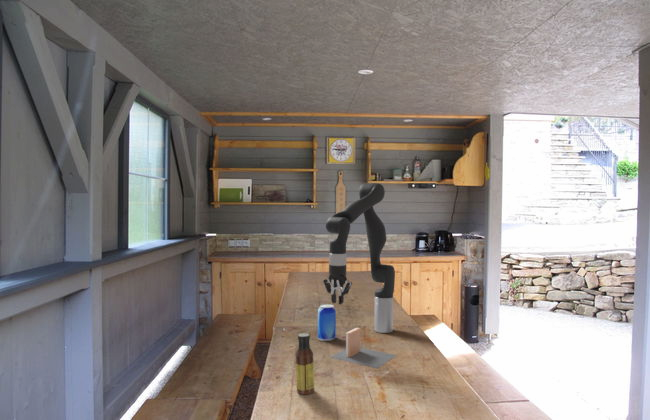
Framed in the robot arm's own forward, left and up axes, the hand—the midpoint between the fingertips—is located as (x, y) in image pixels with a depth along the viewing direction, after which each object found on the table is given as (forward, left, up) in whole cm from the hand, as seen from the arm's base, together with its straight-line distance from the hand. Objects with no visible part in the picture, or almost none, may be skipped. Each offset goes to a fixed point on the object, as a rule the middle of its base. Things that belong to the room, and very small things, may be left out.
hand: (337, 303), depth 200 cm
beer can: (-12, -13, -21) cm, 28 cm away
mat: (0, +13, -21) cm, 25 cm away
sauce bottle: (+41, +12, -21) cm, 48 cm away
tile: (0, +8, -20) cm, 22 cm away
